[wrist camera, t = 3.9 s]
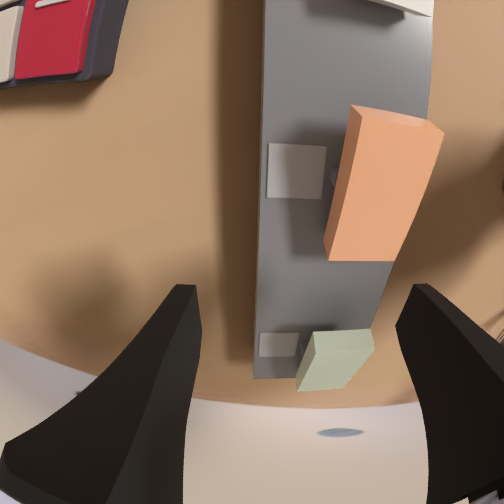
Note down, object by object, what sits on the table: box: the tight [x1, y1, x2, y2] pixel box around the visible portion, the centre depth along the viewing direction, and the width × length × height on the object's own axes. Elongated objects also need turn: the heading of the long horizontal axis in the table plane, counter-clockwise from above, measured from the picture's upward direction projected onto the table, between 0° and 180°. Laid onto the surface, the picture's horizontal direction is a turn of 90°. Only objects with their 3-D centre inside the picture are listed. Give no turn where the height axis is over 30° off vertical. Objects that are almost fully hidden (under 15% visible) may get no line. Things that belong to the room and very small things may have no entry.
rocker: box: [296, 329, 375, 392], centre depth 18 cm, size 4×7×1 cm, turn 179°
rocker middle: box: [323, 105, 444, 261], centre depth 12 cm, size 4×7×1 cm, turn 179°
